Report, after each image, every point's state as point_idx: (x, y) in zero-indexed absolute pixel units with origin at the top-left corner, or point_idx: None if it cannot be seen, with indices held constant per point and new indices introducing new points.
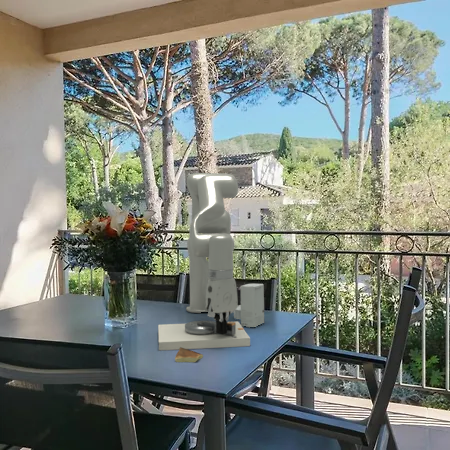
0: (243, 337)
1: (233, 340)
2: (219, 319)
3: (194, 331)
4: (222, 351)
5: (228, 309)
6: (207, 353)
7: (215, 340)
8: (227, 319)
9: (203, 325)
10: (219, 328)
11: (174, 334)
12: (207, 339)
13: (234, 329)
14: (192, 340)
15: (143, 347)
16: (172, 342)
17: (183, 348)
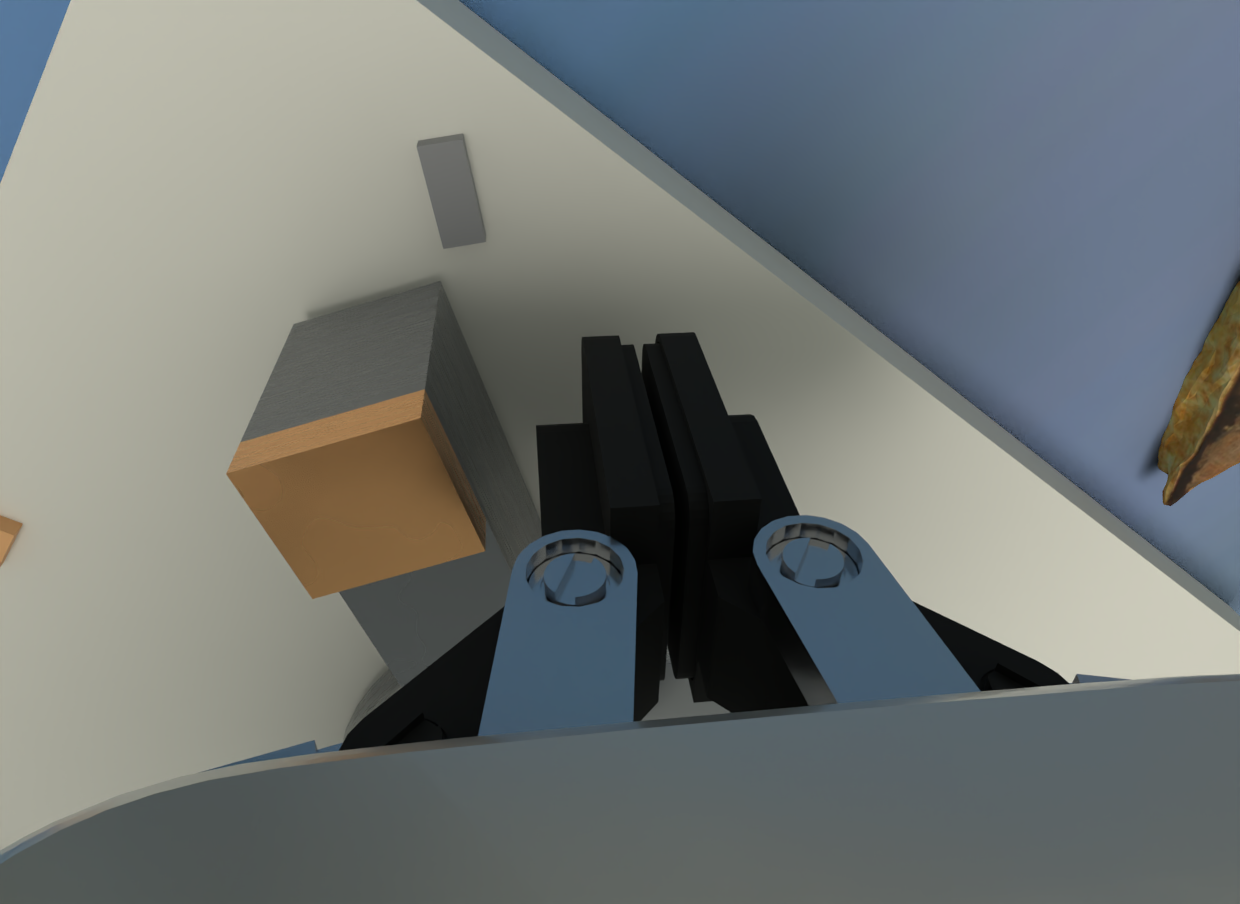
0: (280, 6)
1: (556, 96)
2: (879, 590)
3: None
4: (896, 15)
5: (760, 777)
6: (1115, 129)
7: (837, 316)
8: (537, 565)
9: None
10: (766, 453)
11: None
12: (906, 421)
13: (322, 358)
14: (1068, 517)
15: None
16: (1216, 611)
17: (1210, 443)
